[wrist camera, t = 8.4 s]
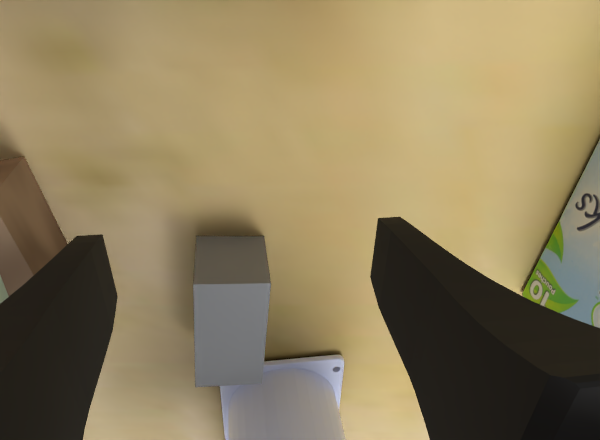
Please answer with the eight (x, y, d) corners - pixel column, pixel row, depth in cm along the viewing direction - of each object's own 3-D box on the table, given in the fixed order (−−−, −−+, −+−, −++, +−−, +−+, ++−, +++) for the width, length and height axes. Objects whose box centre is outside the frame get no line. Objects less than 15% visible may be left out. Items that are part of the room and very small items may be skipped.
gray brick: (256, 329, 29) (261, 383, 26) (198, 331, 28) (195, 387, 25) (263, 234, 25) (270, 283, 22) (196, 234, 25) (193, 284, 21)
